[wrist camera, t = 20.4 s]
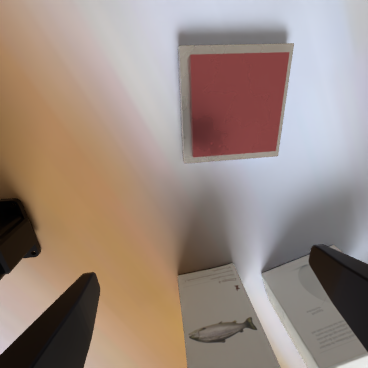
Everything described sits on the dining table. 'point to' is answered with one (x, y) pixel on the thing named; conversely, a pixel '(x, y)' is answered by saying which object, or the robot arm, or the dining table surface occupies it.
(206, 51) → the ink pad
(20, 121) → the dining table surface
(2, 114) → the dining table surface
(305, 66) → the dining table surface
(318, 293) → the skincare box
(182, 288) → the supplement box
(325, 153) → the dining table surface
